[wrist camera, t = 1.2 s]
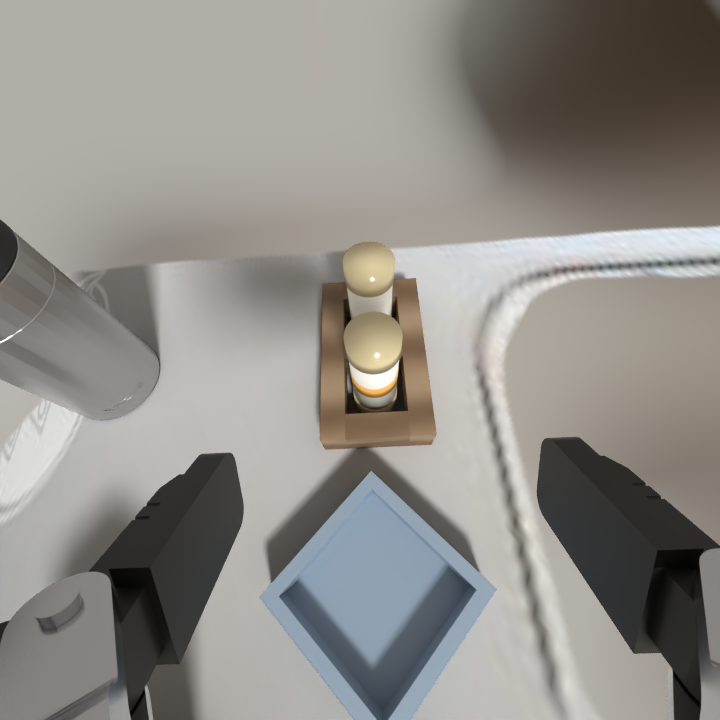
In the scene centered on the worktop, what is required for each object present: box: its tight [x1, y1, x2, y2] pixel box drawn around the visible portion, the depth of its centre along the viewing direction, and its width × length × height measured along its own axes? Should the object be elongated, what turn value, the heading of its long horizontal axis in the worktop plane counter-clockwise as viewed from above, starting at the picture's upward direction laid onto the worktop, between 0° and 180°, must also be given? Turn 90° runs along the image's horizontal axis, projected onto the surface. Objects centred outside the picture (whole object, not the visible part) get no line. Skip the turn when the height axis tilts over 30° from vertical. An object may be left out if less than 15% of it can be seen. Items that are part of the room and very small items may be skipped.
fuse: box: [342, 242, 395, 320], centre depth 34 cm, size 4×4×12 cm
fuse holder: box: [320, 278, 436, 449], centre depth 36 cm, size 17×10×4 cm, turn 2°
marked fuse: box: [344, 312, 403, 413], centre depth 31 cm, size 4×4×12 cm
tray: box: [260, 471, 497, 720], centre depth 27 cm, size 12×12×4 cm
